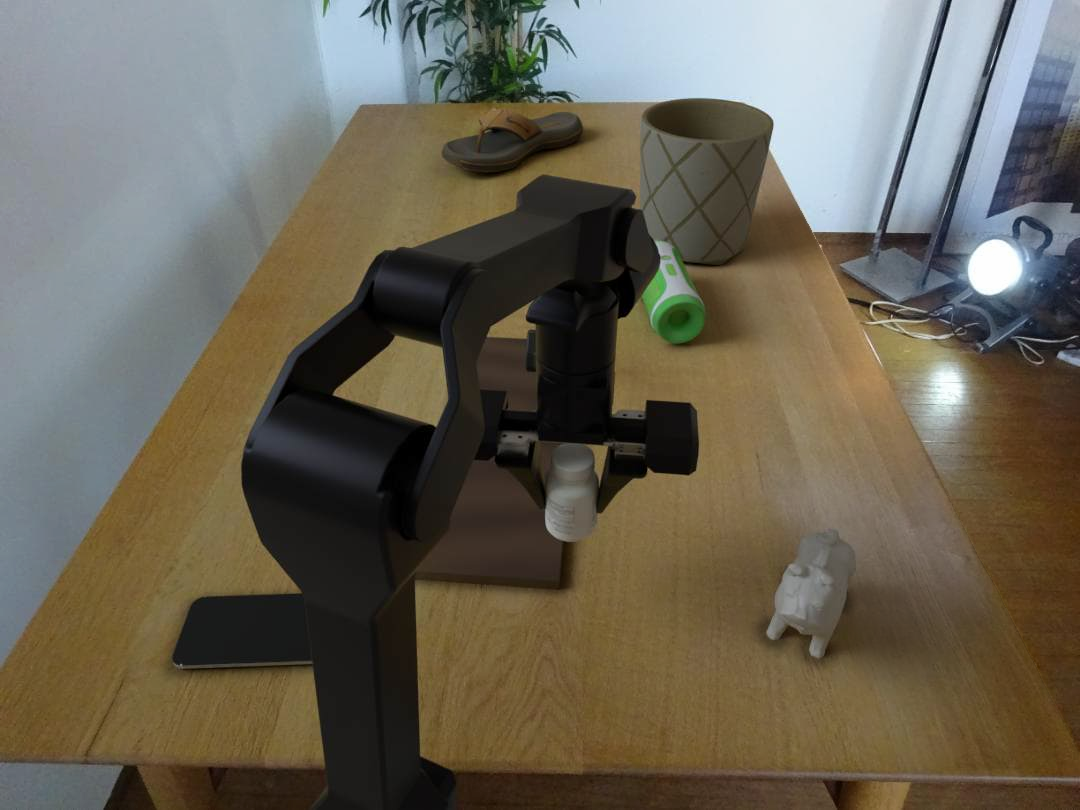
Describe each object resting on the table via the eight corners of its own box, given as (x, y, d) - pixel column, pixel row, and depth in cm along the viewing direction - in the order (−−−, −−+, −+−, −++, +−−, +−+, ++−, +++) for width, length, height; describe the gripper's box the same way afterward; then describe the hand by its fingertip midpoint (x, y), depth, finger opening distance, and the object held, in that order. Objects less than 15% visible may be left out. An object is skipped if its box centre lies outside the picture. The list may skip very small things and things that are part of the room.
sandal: (422, 164, 157) (418, 115, 151) (557, 125, 174) (557, 80, 168) (464, 186, 148) (461, 135, 143) (601, 142, 165) (603, 96, 160)
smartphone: (348, 659, 68) (168, 665, 68) (349, 664, 68) (170, 670, 68) (359, 590, 74) (193, 595, 73) (360, 595, 74) (195, 600, 74)
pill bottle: (582, 499, 71) (584, 432, 66) (606, 533, 68) (610, 465, 63) (536, 515, 69) (536, 447, 64) (558, 550, 66) (559, 481, 61)
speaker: (627, 283, 120) (630, 236, 115) (675, 280, 120) (680, 234, 116) (650, 349, 106) (655, 299, 101) (705, 346, 106) (712, 296, 102)
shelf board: (558, 589, 75) (558, 581, 74) (410, 579, 76) (408, 570, 75) (581, 348, 106) (582, 341, 105) (476, 343, 107) (476, 336, 106)
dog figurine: (749, 668, 68) (770, 587, 61) (793, 566, 77) (815, 485, 70) (811, 697, 66) (840, 616, 59) (849, 588, 75) (878, 507, 68)
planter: (739, 280, 120) (761, 149, 108) (617, 258, 126) (625, 131, 113) (761, 227, 134) (783, 105, 122) (650, 210, 140) (660, 92, 127)
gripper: (702, 301, 63) (681, 451, 73) (467, 289, 65) (477, 437, 74) (710, 385, 54) (685, 544, 64) (438, 369, 56) (453, 525, 66)
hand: (571, 507), depth 67 cm, fingers closed on pill bottle, 4 cm apart
